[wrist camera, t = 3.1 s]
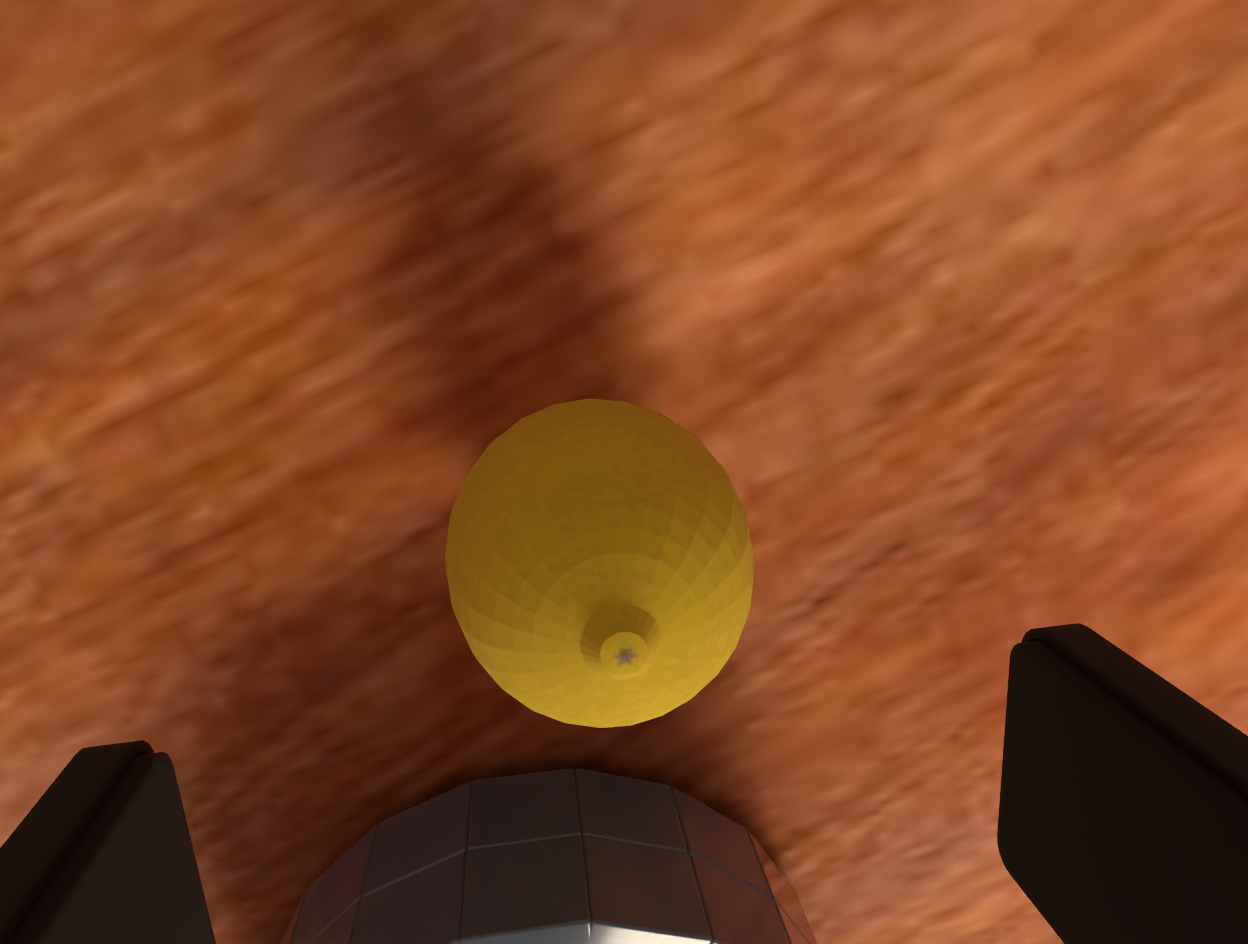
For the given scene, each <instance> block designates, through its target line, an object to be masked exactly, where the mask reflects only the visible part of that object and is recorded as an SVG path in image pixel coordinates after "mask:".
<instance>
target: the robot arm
mask: <svg viewBox="0 0 1248 944" xmlns="http://www.w3.org/2000/svg"><path fill="white" fill-rule="evenodd" d="M997 841H998V848H999V852H1000V855H1001V858H1002V861H1003V863H1004V865H1005V867H1006V869H1007V870H1008V872H1009V874H1010V875H1011V876H1012V877H1013V879H1014V880H1015V881H1016V883H1017V884H1018V885H1019V886H1020V888H1021V889H1022V890H1023V891H1024V893H1025V894H1026V895H1027V896H1028V898H1029V899H1030V900H1031V902H1032V903H1033V904H1034V905H1035V907H1036V908H1037V909H1038V910H1039V912H1040V913H1041V914H1042V916H1043V917H1044V918H1045V919H1046V921H1047V922H1048V923H1049V924H1050V926H1051V927H1052V928H1053V930H1054V931H1055V932H1056V933H1057V935H1058V936H1059V937H1060V938H1061V940H1062V941H1063V942H1064V943H1065V944H1248V736H1247V735H1245V734H1244V733H1242V732H1241V731H1240V730H1238V729H1237V728H1235V727H1234V726H1232V725H1231V724H1229V723H1228V722H1226V721H1225V720H1223V719H1222V718H1220V717H1219V716H1218V715H1216V714H1215V713H1213V712H1212V711H1210V710H1209V709H1207V708H1206V707H1204V706H1203V705H1201V704H1200V703H1198V702H1197V701H1196V700H1194V699H1193V698H1191V697H1190V696H1188V695H1187V694H1185V693H1184V692H1182V691H1181V690H1179V689H1178V688H1176V687H1175V686H1174V685H1172V684H1171V683H1169V682H1168V681H1166V680H1165V679H1163V678H1162V677H1160V676H1159V675H1157V674H1156V673H1154V672H1153V671H1152V670H1150V669H1149V668H1147V667H1146V666H1144V665H1143V664H1141V663H1140V662H1138V661H1137V660H1135V659H1134V658H1132V657H1131V656H1130V655H1128V654H1127V653H1125V652H1124V651H1122V650H1121V649H1119V648H1118V647H1116V646H1115V645H1113V644H1112V643H1110V642H1109V641H1108V640H1106V639H1105V638H1103V637H1102V636H1100V635H1099V634H1097V633H1096V632H1094V631H1093V630H1091V629H1090V628H1088V627H1087V626H1084V625H1082V624H1068V625H1060V626H1052V627H1044V628H1036V629H1031V630H1029V631H1028V632H1026V634H1025V635H1024V637H1023V639H1022V643H1018V644H1016V645H1015V646H1014V647H1013V649H1012V651H1011V655H1010V665H1009V679H1008V693H1007V707H1006V721H1005V735H1004V749H1003V763H1002V777H1001V791H1000V805H999V819H998V833H997ZM0 944H216V942H215V938H214V934H213V930H212V926H211V921H210V917H209V913H208V909H207V905H206V901H205V896H204V892H203V888H202V884H201V880H200V875H199V871H198V867H197V863H196V859H195V855H194V850H193V846H192V842H191V838H190V834H189V830H188V825H187V821H186V817H185V813H184V809H183V805H182V800H181V796H180V792H179V788H178V784H177V780H176V775H175V771H174V767H173V764H172V761H171V758H170V757H169V756H168V754H166V753H164V752H160V753H154V751H153V749H152V748H151V746H150V745H149V743H147V742H145V741H143V740H142V741H134V742H126V743H118V744H110V745H102V746H94V747H88V748H83V749H81V750H80V751H79V752H78V753H77V754H76V755H75V756H74V757H73V758H72V760H71V761H70V762H69V763H68V765H67V766H66V767H65V768H64V770H63V771H62V772H61V773H60V775H59V776H58V777H57V778H56V780H55V781H54V782H53V783H52V785H51V786H50V787H49V788H48V790H47V791H46V792H45V793H44V795H43V796H42V797H41V798H40V799H39V801H38V802H37V803H36V804H35V806H34V807H33V808H32V809H31V811H30V812H29V813H28V814H27V816H26V817H25V818H24V819H23V821H22V822H21V823H20V824H19V826H18V827H17V828H16V829H15V831H14V832H13V833H12V834H11V836H10V837H9V838H8V839H7V841H6V842H5V843H4V844H3V846H2V847H1V848H0Z"/></svg>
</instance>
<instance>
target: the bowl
mask: <svg viewBox="0 0 1248 944" xmlns="http://www.w3.org/2000/svg"><path fill="white" fill-rule="evenodd" d="M280 944H817V943H816V940H815V938H814V935H813V933H812V931H811V928H810V926H809V923H808V921H807V919H806V916H805V914H804V911H803V909H802V907H801V904H800V902H799V899H798V897H797V895H796V893H795V890H794V889H793V887H792V886H791V885H790V883H789V882H788V881H787V879H786V878H785V877H784V876H783V874H782V873H781V872H780V870H779V869H778V868H777V866H776V865H775V864H774V862H773V861H772V860H771V859H770V857H769V856H768V855H767V853H766V852H765V851H764V849H763V848H762V847H761V845H760V844H759V843H758V842H757V840H756V839H755V838H754V836H753V835H752V834H751V832H750V831H749V830H748V829H746V828H745V827H743V826H741V825H739V824H738V823H736V822H734V821H733V820H731V819H729V818H727V817H726V816H724V815H722V814H720V813H719V812H717V811H715V810H713V809H712V808H710V807H708V806H706V805H705V804H703V803H701V802H699V801H698V800H696V799H694V798H692V797H691V796H689V795H687V794H685V793H684V792H682V791H680V790H679V789H677V788H675V787H673V786H671V787H670V786H669V785H668V784H663V783H657V782H652V781H646V780H641V779H635V778H630V777H624V776H619V775H613V774H608V773H602V772H597V771H591V770H586V769H580V768H576V769H575V770H574V769H573V768H566V769H558V770H550V771H542V772H534V773H526V774H518V775H510V776H502V777H494V778H486V779H478V780H474V781H473V782H471V781H469V782H466V783H464V784H462V785H460V786H458V787H455V788H453V789H451V790H449V791H447V792H444V793H442V794H440V795H438V796H435V797H433V798H431V799H429V800H427V801H424V802H422V803H420V804H418V805H416V806H413V807H411V808H409V809H407V810H404V811H402V812H400V813H398V814H396V815H393V816H391V817H389V818H387V819H385V820H382V821H380V822H379V823H378V824H375V825H374V826H373V827H372V828H371V829H370V830H369V831H368V832H367V833H366V834H365V835H364V836H363V837H361V838H360V839H359V840H358V841H357V842H356V843H355V844H354V845H353V846H352V847H351V848H350V849H349V850H347V851H346V852H345V853H344V854H343V855H342V856H341V857H340V858H339V859H338V860H337V861H336V862H335V863H333V864H332V865H331V866H330V867H329V868H328V869H327V870H326V871H325V872H324V873H323V874H322V875H321V876H319V877H318V878H317V879H316V880H315V881H314V882H313V883H312V884H311V885H310V886H309V887H308V889H306V890H305V892H304V894H303V896H302V898H301V900H300V903H299V905H298V907H297V909H296V911H295V913H294V915H293V917H292V919H291V921H290V923H289V926H288V928H287V930H286V932H285V934H284V936H283V938H282V940H281V942H280Z"/></svg>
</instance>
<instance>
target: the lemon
mask: <svg viewBox="0 0 1248 944" xmlns="http://www.w3.org/2000/svg"><path fill="white" fill-rule="evenodd" d="M445 565H446V572H447V578H448V585H449V592H450V598H451V604H452V608H453V611H454V614H455V616H456V618H457V620H458V623H459V625H460V627H461V629H462V631H463V633H464V636H465V638H466V640H467V642H468V644H469V647H470V649H471V651H472V653H473V654H474V656H475V657H476V659H477V660H478V661H479V663H480V664H481V665H482V666H483V667H484V669H485V670H486V671H487V672H488V673H489V675H490V676H491V677H492V678H493V680H494V681H495V682H496V683H497V684H498V686H499V687H501V688H502V689H503V690H504V691H505V692H507V693H508V694H510V695H511V696H512V697H514V698H515V699H517V700H518V701H519V702H521V703H522V704H524V705H525V706H526V707H528V708H529V709H531V710H532V711H535V712H537V713H540V714H542V715H545V716H548V717H550V718H553V719H555V720H558V721H561V722H563V723H568V724H575V725H582V726H589V727H596V728H606V727H618V726H630V725H634V724H638V723H641V722H644V721H647V720H650V719H653V718H657V717H660V716H663V715H664V714H666V713H668V712H670V711H671V710H673V709H675V708H677V707H678V706H680V705H682V704H684V703H685V702H687V701H689V700H690V699H692V698H693V697H694V696H695V695H696V694H697V693H698V692H699V691H700V690H701V689H703V688H704V687H705V686H706V685H707V684H708V683H709V682H710V681H711V680H712V679H713V678H715V677H716V676H717V675H718V673H719V672H720V670H721V669H722V667H723V666H724V664H725V663H726V661H727V660H728V658H729V657H730V655H731V654H732V652H733V651H734V649H735V648H736V646H737V643H738V641H739V638H740V635H741V632H742V630H743V627H744V624H745V621H746V619H747V616H748V613H749V610H750V605H751V595H752V585H753V574H754V556H753V551H752V545H751V540H750V534H749V528H748V523H747V518H746V514H745V511H744V509H743V506H742V504H741V502H740V500H739V498H738V496H737V494H736V492H735V489H734V487H733V485H732V483H731V481H730V479H729V477H728V475H727V473H726V472H725V470H724V468H723V467H722V466H721V465H720V464H719V462H718V461H717V460H716V459H715V458H714V457H713V455H712V454H711V453H710V452H709V451H708V450H707V449H706V447H705V446H704V445H703V444H702V443H701V442H700V440H699V439H698V438H697V437H696V436H694V435H693V434H691V433H690V432H688V431H687V430H685V429H684V428H682V427H681V426H679V425H678V424H676V423H675V422H673V421H672V420H670V419H669V418H667V417H666V416H664V415H662V414H661V413H658V412H655V411H652V410H649V409H646V408H643V407H640V406H637V405H634V404H632V403H629V402H625V401H614V400H602V399H591V398H588V399H582V400H576V401H571V402H565V403H559V404H554V405H551V406H549V407H547V408H544V409H542V410H540V411H538V412H535V413H533V414H531V415H529V416H526V417H524V418H522V419H520V420H519V421H518V422H516V423H515V424H514V425H513V426H511V427H510V428H509V429H507V430H506V431H505V432H504V433H502V434H501V435H500V436H498V437H497V438H496V439H494V440H493V441H492V442H491V443H490V444H489V445H488V447H487V448H486V449H485V451H484V452H483V453H482V455H481V456H480V457H479V458H478V460H477V461H476V462H475V464H474V465H473V466H472V468H471V469H470V470H469V472H468V473H467V475H466V477H465V479H464V482H463V484H462V487H461V489H460V491H459V494H458V496H457V499H456V501H455V504H454V506H453V508H452V511H451V515H450V521H449V528H448V536H447V544H446V552H445Z"/></svg>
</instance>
